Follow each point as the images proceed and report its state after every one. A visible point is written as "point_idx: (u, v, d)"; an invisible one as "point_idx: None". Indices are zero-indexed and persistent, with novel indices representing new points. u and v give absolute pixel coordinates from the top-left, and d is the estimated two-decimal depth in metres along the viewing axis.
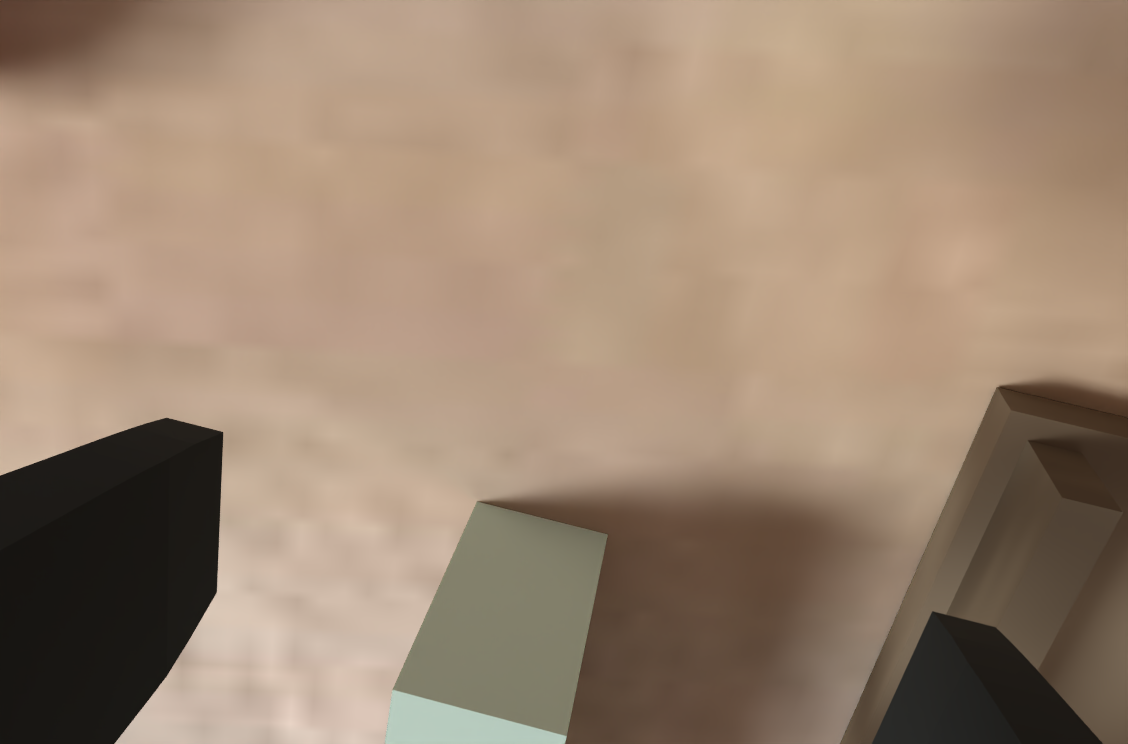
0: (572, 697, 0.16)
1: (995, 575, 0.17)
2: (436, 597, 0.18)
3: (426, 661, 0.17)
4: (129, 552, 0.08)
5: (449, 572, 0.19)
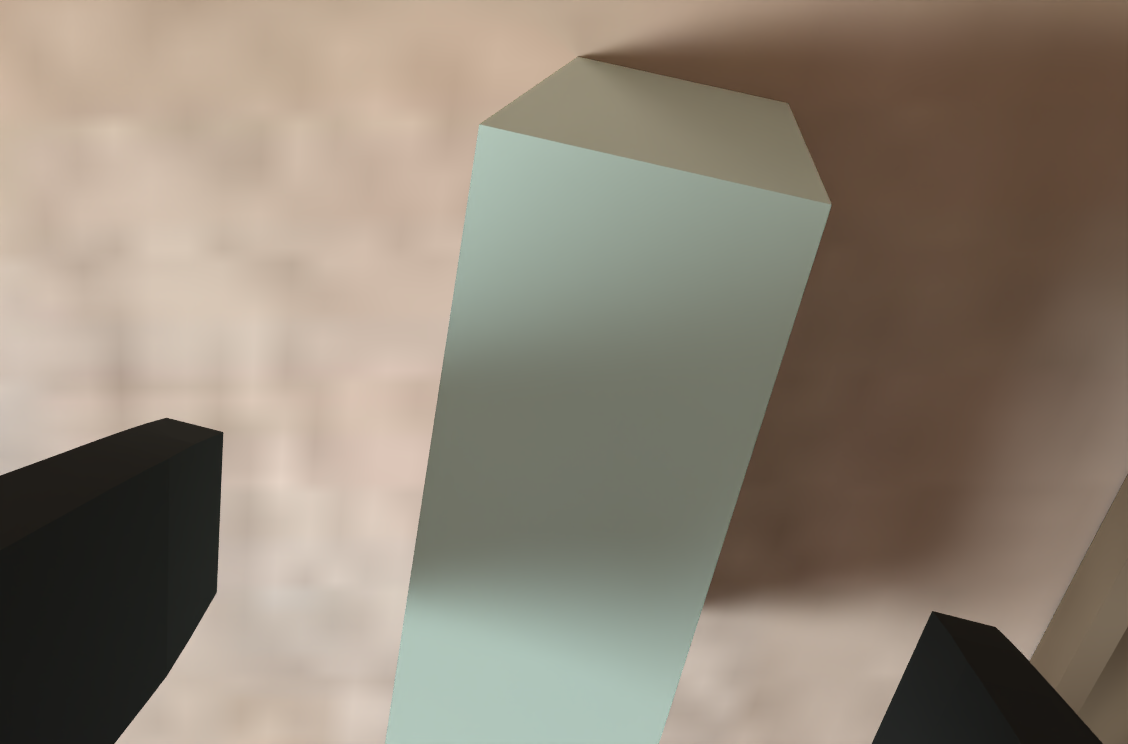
0: (817, 180, 0.09)
1: None
2: (537, 88, 0.10)
3: (536, 117, 0.09)
4: (129, 552, 0.08)
5: (552, 78, 0.11)
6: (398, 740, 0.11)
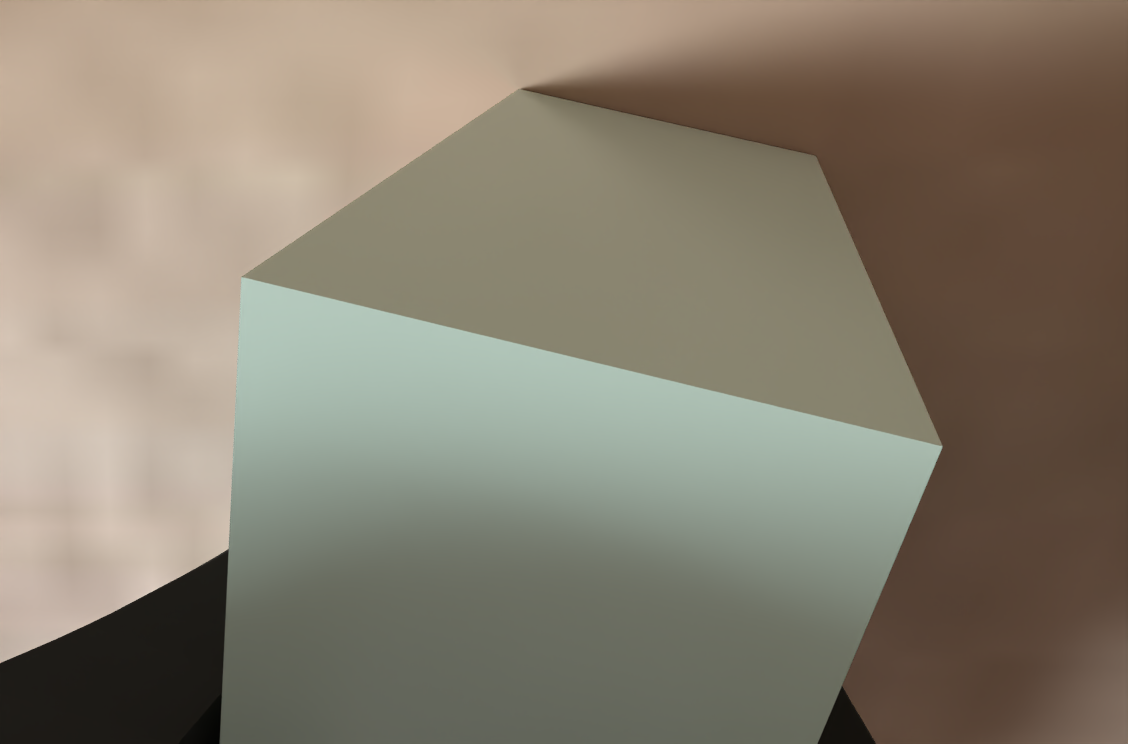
0: (898, 359, 0.05)
1: None
2: (421, 162, 0.06)
3: (384, 240, 0.05)
4: None
5: (457, 140, 0.07)
6: None
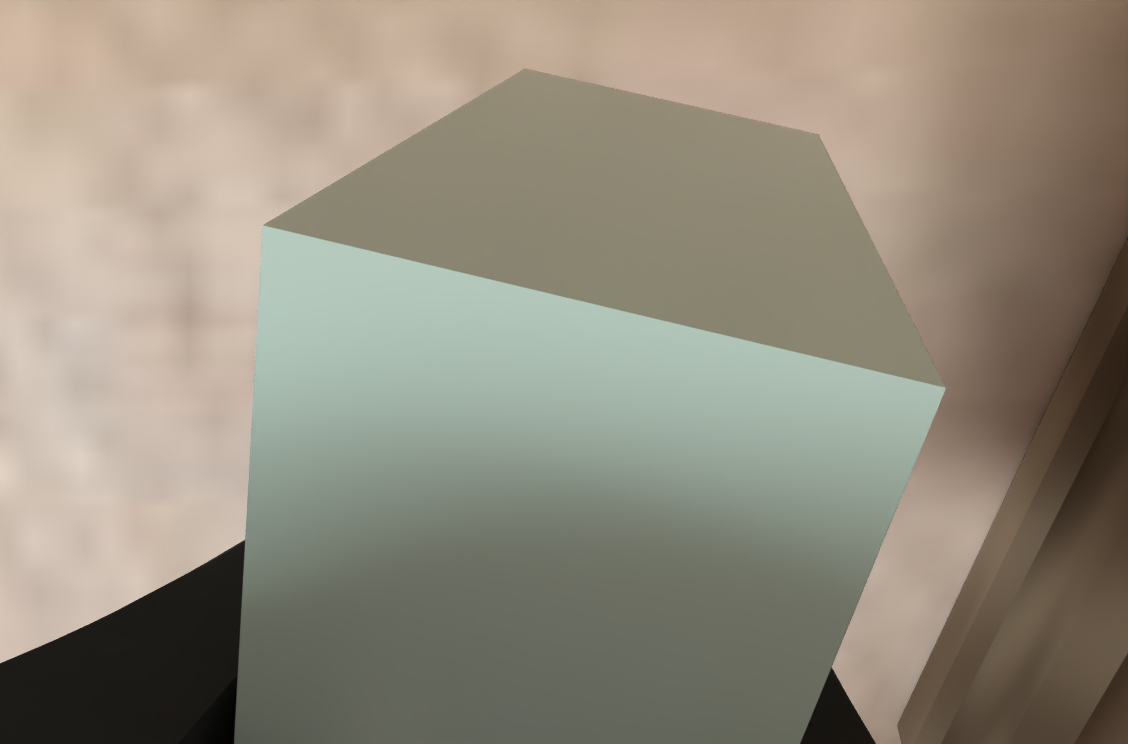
0: (901, 313, 0.05)
1: None
2: (432, 130, 0.06)
3: (398, 198, 0.05)
4: None
5: (466, 111, 0.07)
6: None
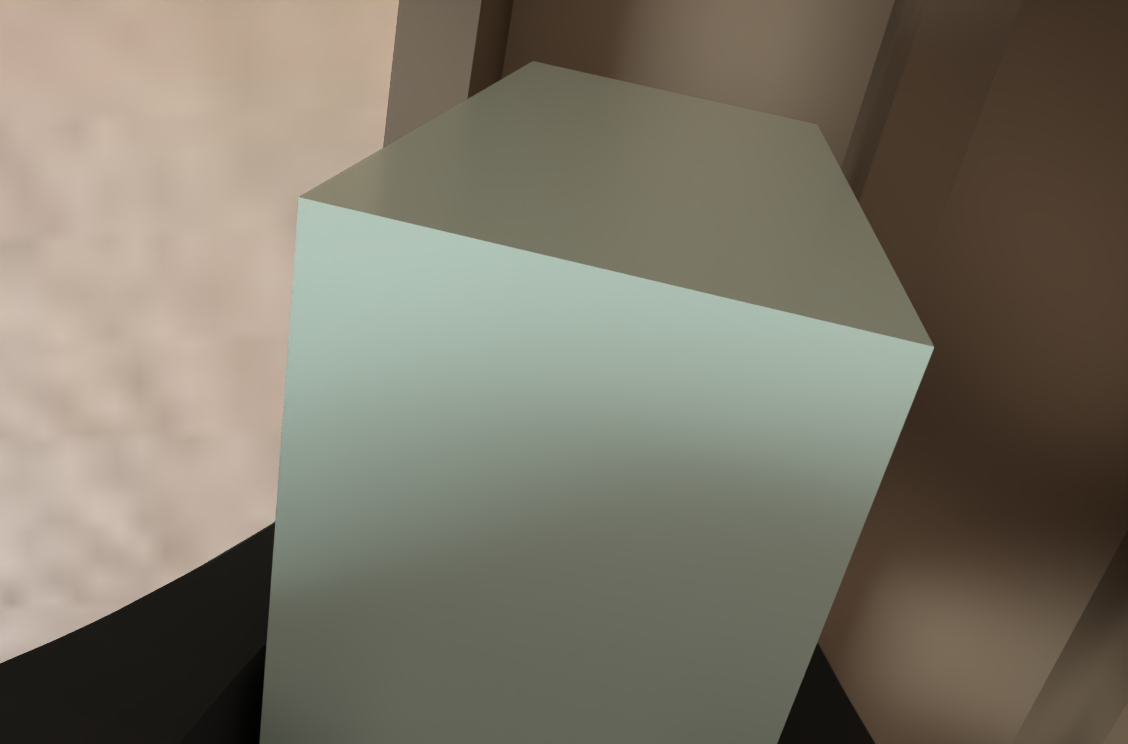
0: (894, 283, 0.05)
1: None
2: (448, 116, 0.07)
3: (420, 175, 0.05)
4: None
5: (479, 99, 0.07)
6: None
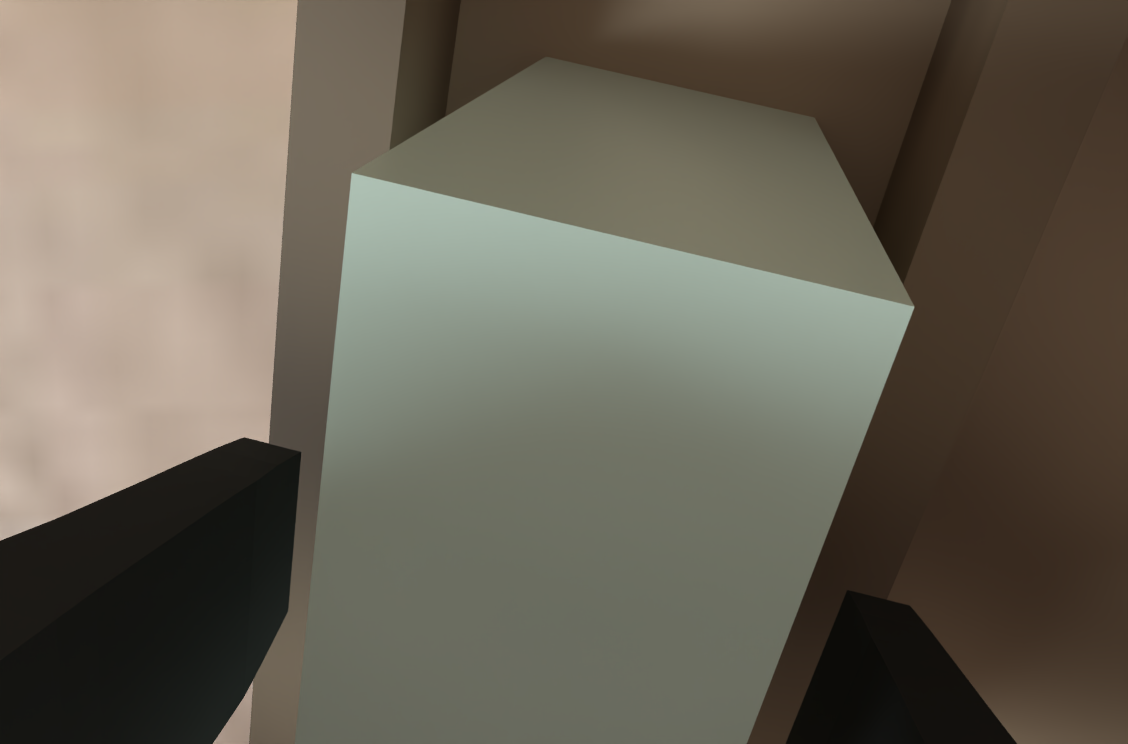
0: (881, 254, 0.06)
1: None
2: (473, 105, 0.07)
3: (454, 156, 0.06)
4: (219, 575, 0.08)
5: (499, 90, 0.08)
6: None
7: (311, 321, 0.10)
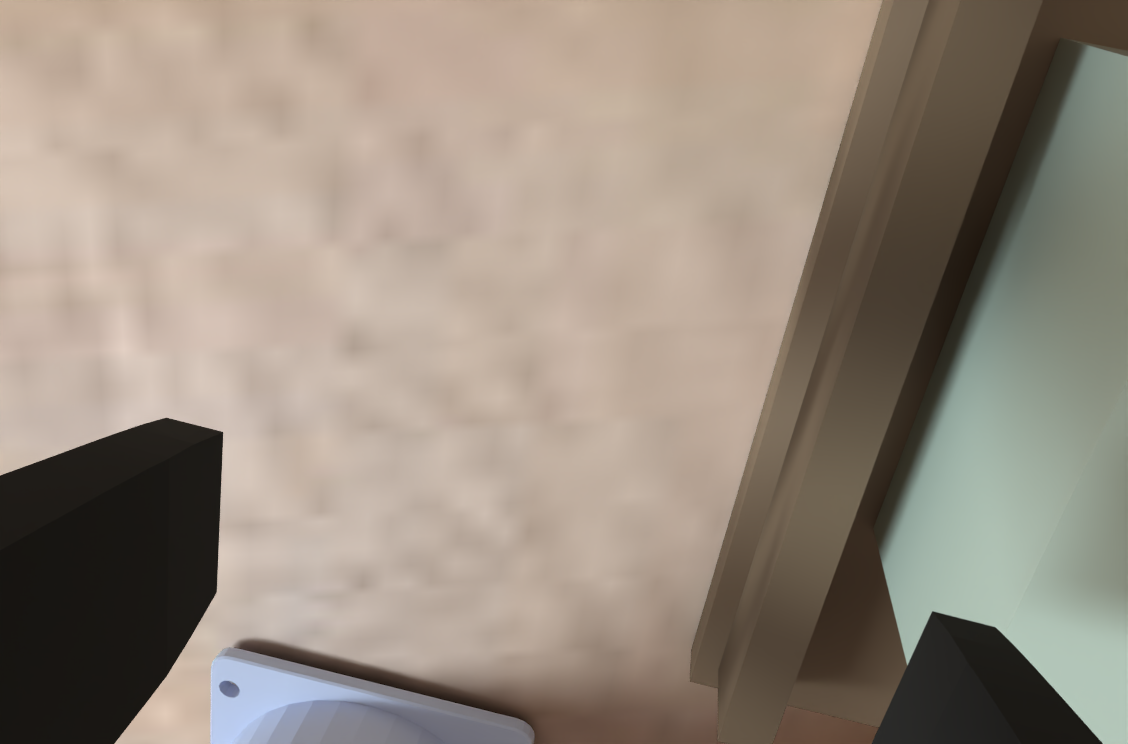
0: None
1: None
2: None
3: None
4: (129, 552, 0.08)
5: None
6: None
7: (911, 232, 0.14)
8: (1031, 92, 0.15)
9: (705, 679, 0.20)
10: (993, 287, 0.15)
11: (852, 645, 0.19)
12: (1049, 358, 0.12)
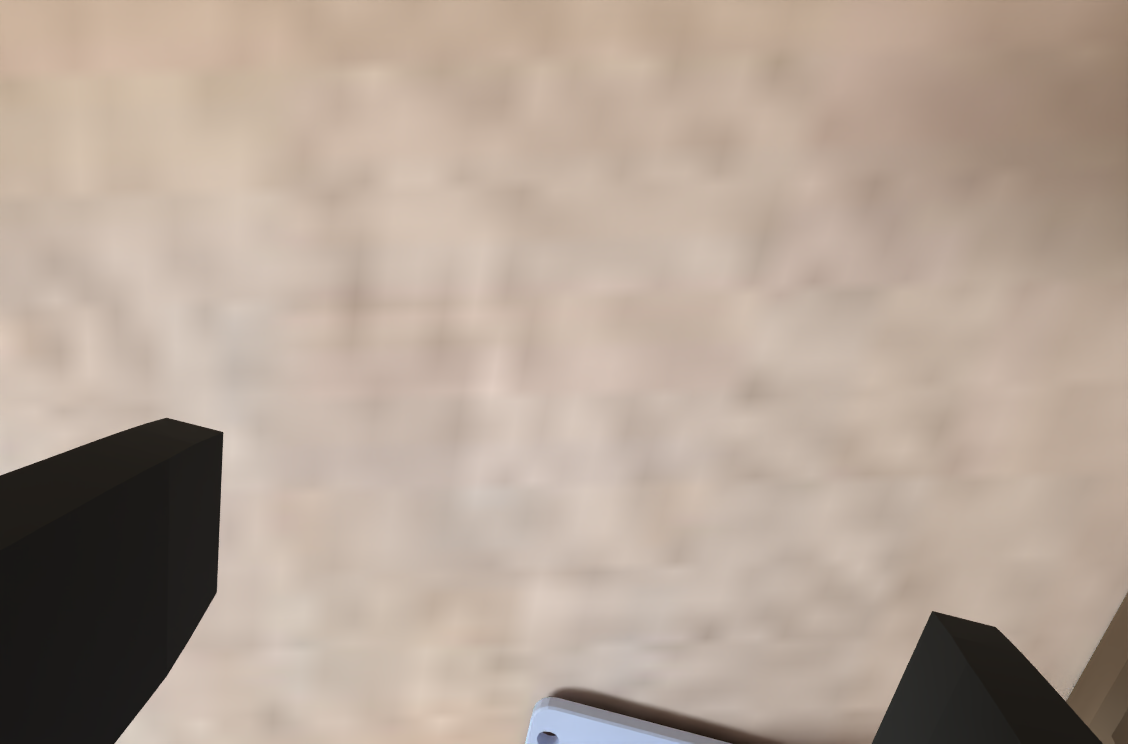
0: None
1: None
2: None
3: None
4: (129, 552, 0.08)
5: None
6: None
7: None
8: None
9: None
10: None
11: None
12: None
